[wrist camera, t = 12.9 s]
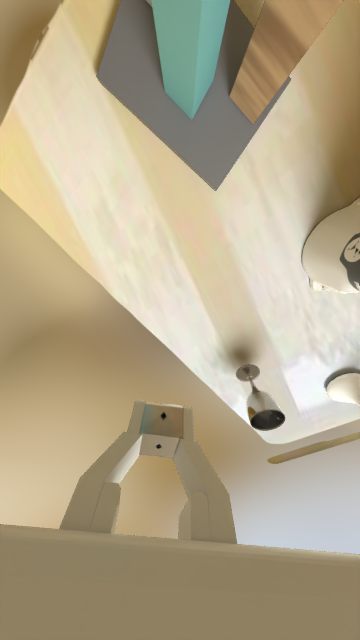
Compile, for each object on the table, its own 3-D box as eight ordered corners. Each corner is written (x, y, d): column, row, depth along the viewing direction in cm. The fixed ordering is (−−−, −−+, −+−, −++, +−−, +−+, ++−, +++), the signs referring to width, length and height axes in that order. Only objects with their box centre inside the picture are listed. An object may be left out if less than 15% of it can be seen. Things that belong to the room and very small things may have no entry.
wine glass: (230, 378, 57) (244, 426, 44) (243, 360, 53) (263, 406, 40) (251, 385, 58) (271, 433, 45) (266, 368, 55) (292, 415, 42)
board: (215, 191, 34) (216, 190, 32) (100, 83, 27) (96, 76, 26) (286, 86, 27) (291, 79, 26) (157, -87, 21) (155, -107, 20)
